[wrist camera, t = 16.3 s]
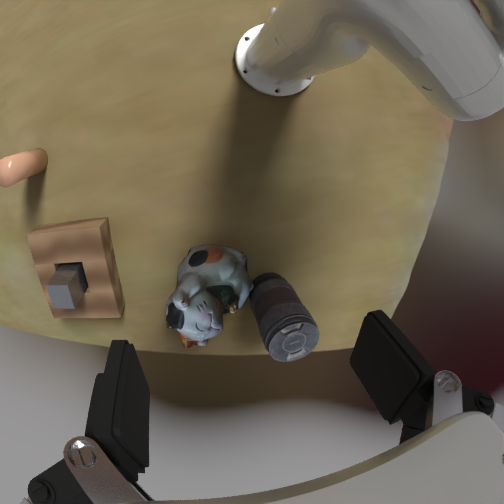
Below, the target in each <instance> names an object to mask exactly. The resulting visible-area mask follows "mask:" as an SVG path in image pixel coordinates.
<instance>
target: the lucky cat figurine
mask: <svg viewBox="0 0 504 504" xmlns="http://www.w3.org/2000/svg"><path fill="white" fill-rule="evenodd" d="M177 279H178V286H177V288H176V290H175V291H174V293H173V294H172V295H171V296H170V298H169V300H168V302H167V310H166V315H167V317H166V321H167V328H171V329H176V330H178V331H179V334H180V336H181V338H182V343H183V346H184V348H185V349H187V348H189V347H192V346H193V345H199V346H203V345H204V346H206V344H207V342H208V338H212V337H215V336H216V335H218V334H219V333H220V332H221V330H222V329H223V314H226V313H232V314H234V313H236V312H237V311H238V310H239V309H240V308H241V307H242V306H243V305H244V303H245V300H246V298H247V297H248V295H249V294H250V291H251V290H252V288H253V283H252V282H251V280H250V279H249V276H248V273H247V258H246V256H245V255H244V254H243V253H242V252H240V251H238V250H237V249H234V248H230V247H226V246H219V245H201V246H197V247H193V248H190V250H189V253H188V255H187V257H186V258H184V260H183V261H182V262H181V263H180V265H179V270H178V278H177Z"/></svg>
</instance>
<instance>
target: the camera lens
mask: <svg viewBox="0 0 504 504" xmlns="http://www.w3.org/2000/svg"><path fill="white" fill-rule="evenodd" d="M252 283H253V288H252V290H251V291H250V294H249V299H250V304H251V308H252V311H253V313H254V316H255V318H256V320H257V323H258V327H259V330H260V334H261V337H262V340H263V342H264V345H265V348H266V350H267V351H268V352H269V353H270V355H271V357H272V358H274V359H276V360H277V361H281V362H291V361H294V360H298V359H300V358H302V357H304V356H306V355H307V354H308V353H310V352H311V351H312V350H313V349H314V348H315V346H316V345H317V343H318V340H319V331H318V327H317V325H316V322H315V321H314V319H313V318H312V316H311V315H310V313H309V311H308V310H307V309H306V308H305V306H304V305H303V304H302V303H301V301H300V299H299V298H298V296H297V294H296V292H295V291H294V289H293V288H292V286H291V285H290V284H289V283H288V282H287V280H285V279H284V278H282V277H281V276H280V275H278V274H275V273H265V274H262V275H260V276H258V277H257V278H256V279H255V280H254V281H253V282H252Z"/></svg>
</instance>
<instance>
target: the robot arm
mask: <svg viewBox="0 0 504 504" xmlns="http://www.w3.org/2000/svg"><path fill="white" fill-rule="evenodd" d="M473 1H474V2H475V3H476V4H477V6H478V7H479V9H480V11H481V14H480V15H479V13H478V12H477V11H476V9H475V8H474V7H473V5H472V4H471V2H470V0H283V1H282V2H281V4H280V5H279V6H278V7H277V8H270V17H269V19H268V20H267V21H266V22H265V24H261V25H258V26H255V27H253V28H252V29H250V30H248V31H247V32H246V33H245V34H244V35H243V36H242V38H241V39H240V40H239V42H238V44H237V47H236V51H235V62H236V67H237V69H238V72H239V74H240V75H241V76H242V78H243V79H244V80H245V81H246V82H247V83H248V85H250V86H251V87H253V88H254V89H255V90H257V91H259V92H261V93H264V94H267V95H271V96H288V95H293V94H295V93H298V92H300V91H302V90H304V89H305V88H306V87H307V86H308V85H310V83H311V82H312V81H313V79H314V77H315V75H318V74H320V73H323V72H326V71H329V70H332V69H335V68H338V67H341V66H344V65H347V64H350V63H352V62H355V61H356V60H358V59H360V58H361V57H362V56H363V55H364V54H365V53H366V52H367V50H368V49H369V47H370V45H372V46H373V47H374V48H376V49H377V50H378V51H379V52H380V53H381V54H382V55H384V56H385V57H386V58H387V59H389V60H390V61H391V62H392V63H393V64H394V65H395V66H396V67H397V68H398V69H399V70H400V71H401V72H402V73H403V74H404V75H405V76H406V77H407V78H408V79H409V80H410V81H411V82H412V83H413V84H414V85H415V86H416V87H417V89H418V90H419V91H420V92H421V93H422V94H423V95H424V96H425V97H426V98H427V99H428V100H429V102H430V103H431V104H432V105H433V106H434V107H436V108H437V109H438V110H439V111H440V112H442V113H443V114H445V115H447V116H448V117H451V118H453V119H457V120H464V121H470V120H477V119H481V118H484V117H487V116H489V115H491V114H493V113H495V112H497V111H499V110H500V109H502V108H503V107H504V0H473ZM245 39H247V40H248V41H245ZM243 71H246V72H247V73H244V72H243ZM307 78H308V79H307ZM275 90H277V91H278V92H277V93H276V92H275ZM350 364H351V366H352V368H353V370H354V371H355V373H356V374H357V376H358V378H359V379H360V381H361V383H362V384H363V386H364V387H365V389H366V390H367V392H368V394H369V395H370V397H371V399H372V400H373V402H374V403H375V405H376V407H377V408H378V410H379V412H380V413H381V415H382V417H383V418H384V419H385V420H388V422H389V424H390V425H391V424H393V423H395V422H397V421H399V420H400V419H401V420H402V421H403V427H402V432H401V436H400V442H399V445H398V446H396V447H394V448H392V449H390V450H388V451H386V452H384V453H382V454H379V455H377V456H375V457H373V458H370V459H368V460H366V461H364V462H361V463H359V464H356V465H354V466H351V467H349V468H346V469H343V470H341V471H338V472H335V473H332V474H329V475H326V476H323V477H320V478H317V479H314V480H310V481H307V482H303V483H299V484H295V485H292V486H287V487H283V488H279V489H274V490H269V491H264V492H259V493H253V494H247V495H240V496H232V497H223V498H212V499H199V500H169V501H155V500H154V499H153V498H152V497H151V496H150V495H149V494H148V493H147V492H146V491H145V490H144V489H143V488H142V487H141V486H140V485H139V484H138V483H137V481H138V473H145V467H149V404H150V390H149V386H148V383H147V381H146V378H145V376H144V373H143V370H142V368H141V365H140V362H139V360H138V357H137V354H136V351H135V348H134V345H133V344H129V343H128V341H127V340H112V342H111V346H110V350H109V354H108V358H107V362H106V367H105V371H104V373H99V374H98V375H97V376H96V379H95V383H94V388H93V392H92V397H91V402H90V407H89V412H88V419H87V424H86V430H85V437H84V436H78V437H75V438H72V439H71V440H69V441H68V442H67V444H66V445H65V448H64V451H63V454H64V459H62V460H61V461H59V462H58V463H56V464H55V465H53V466H52V467H50V468H49V469H47V470H46V471H44V472H43V473H41V474H39V475H38V476H36V477H35V478H33V479H32V480H31V481H30V483H29V485H28V494H29V497H28V498H27V499H26V498H24V499H23V500H22V502H21V503H20V504H504V407H503V406H501V405H499V404H498V403H495V405H494V401H493V399H492V397H491V396H490V395H489V394H488V393H486V392H484V391H479V390H475V389H471V388H467V387H462V386H461V382H460V380H459V378H458V377H457V376H456V375H455V374H454V373H452V372H449V371H441V372H439V373H437V374H436V376H435V375H434V372H435V370H434V369H433V368H432V367H431V365H430V364H429V363H428V362H427V360H426V359H425V358H424V357H423V356H422V355H421V353H420V352H419V351H418V350H417V349H416V348H415V346H414V345H413V344H412V343H411V342H410V341H409V340H408V338H407V337H406V336H405V335H404V334H403V333H402V332H401V331H400V329H399V328H398V327H397V326H396V325H395V324H394V323H393V322H392V321H391V319H390V318H389V317H388V316H387V315H386V314H385V313H384V312H383V311H382V310H376V311H372V312H369V313H368V314H367V316H365V318H364V320H363V323H362V326H361V329H360V332H359V335H358V338H357V341H356V344H355V346H354V349H353V352H352V355H351V357H350Z"/></svg>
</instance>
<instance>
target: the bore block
mask: <svg viewBox="0 0 504 504" xmlns="http://www.w3.org/2000/svg"><path fill="white" fill-rule="evenodd" d="M27 237H28V241H29V245H30V249H31V253H32V256H33V260H34V263H35V267H36V270H37V273H38V276H39V279H40V282H41V285H42V288H43V291H44V293H45V296H46V299H47V301H48V304H49V307H50V309H51V311H52V314H53V316H54V318H121V315H122V311H123V308H124V304H125V300H124V296H123V292H122V288H121V284H120V279H119V275H118V271H117V266H116V261H115V256H114V251H113V245H112V240H111V234H110V228H109V221H108V217H107V218H97V219H88V220H79V221H70V222H62V223H54V224H47V225H39V226H38V227H37V228H35V229H34V230H33V231H32V232H31V233H29V234H28V235H27ZM71 262H82V264H83V268H84V271H85V275H86V279H87V282H88V285H87V286H86V288H85V290H84V292H83V294H82V296H81V298H80V300H79V302H78V304H77V306H76V308H75V309H63V308H53V305H52V302H51V299H50V296H49V293H48V290H47V287H46V284H47V283H48V282H49V280H50V279H51V278H52V276H53V275H54V274H55V272H56V271H57V270H58V268H59V267H60V266H61V264H62V263H71Z"/></svg>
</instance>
